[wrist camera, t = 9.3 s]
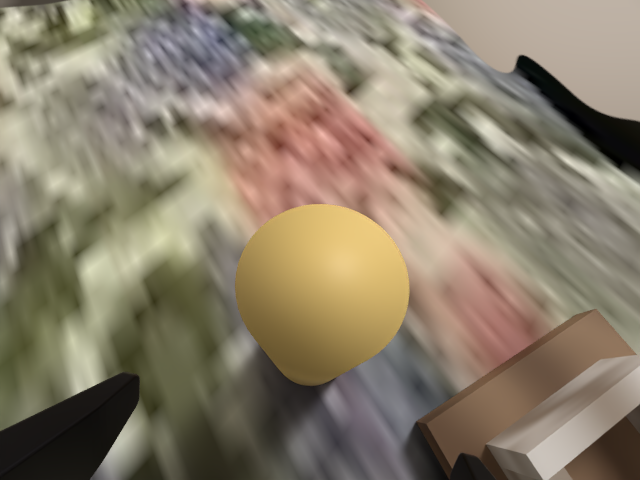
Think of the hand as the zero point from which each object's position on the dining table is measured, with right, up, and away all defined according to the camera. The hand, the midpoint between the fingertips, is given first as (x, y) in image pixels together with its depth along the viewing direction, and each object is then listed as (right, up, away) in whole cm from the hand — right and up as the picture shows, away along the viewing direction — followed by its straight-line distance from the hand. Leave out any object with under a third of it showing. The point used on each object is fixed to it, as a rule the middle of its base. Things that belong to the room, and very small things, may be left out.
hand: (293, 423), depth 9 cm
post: (0, -1, +9) cm, 9 cm away
